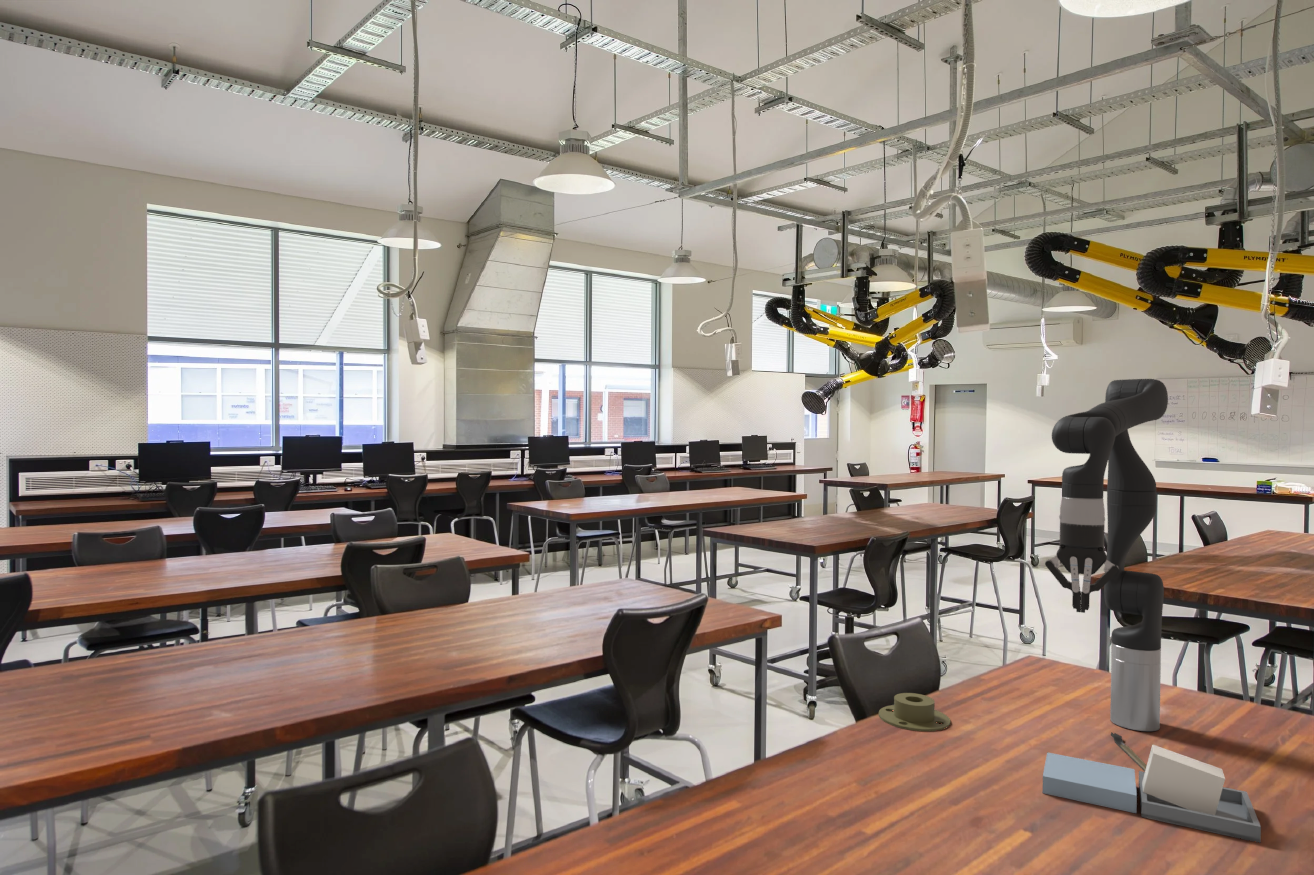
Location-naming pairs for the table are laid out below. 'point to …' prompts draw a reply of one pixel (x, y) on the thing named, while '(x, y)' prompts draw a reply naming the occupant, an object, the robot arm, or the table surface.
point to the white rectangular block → (1183, 780)
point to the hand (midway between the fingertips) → (1080, 611)
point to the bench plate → (1090, 782)
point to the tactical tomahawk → (1128, 751)
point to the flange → (914, 713)
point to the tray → (1229, 818)
